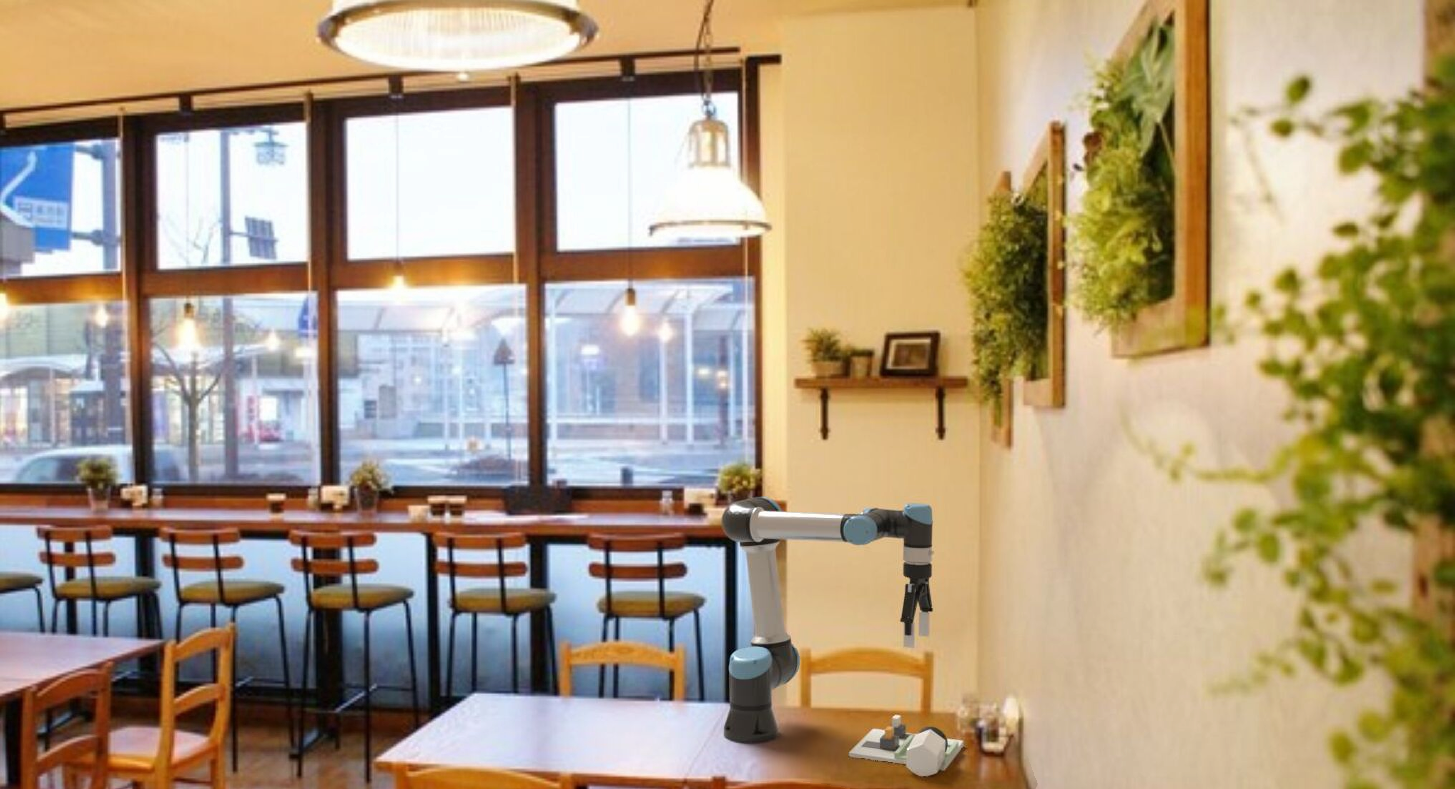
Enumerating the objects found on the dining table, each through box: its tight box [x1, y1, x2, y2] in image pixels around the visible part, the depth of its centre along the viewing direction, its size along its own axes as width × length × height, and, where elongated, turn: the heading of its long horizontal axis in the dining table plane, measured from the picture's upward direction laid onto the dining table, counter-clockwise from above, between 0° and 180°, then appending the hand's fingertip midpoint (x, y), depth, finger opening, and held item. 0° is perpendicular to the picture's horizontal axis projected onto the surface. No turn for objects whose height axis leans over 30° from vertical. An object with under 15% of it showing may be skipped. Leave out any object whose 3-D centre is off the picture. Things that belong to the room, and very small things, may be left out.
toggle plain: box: [888, 714, 907, 738], centre depth 293 cm, size 4×4×5 cm
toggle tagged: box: [880, 725, 899, 750], centre depth 283 cm, size 4×4×5 cm
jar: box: [905, 726, 948, 778], centre depth 270 cm, size 9×8×12 cm
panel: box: [848, 728, 964, 772], centre depth 284 cm, size 25×21×3 cm
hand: (916, 641), depth 287 cm, fingers open, 13 cm apart
